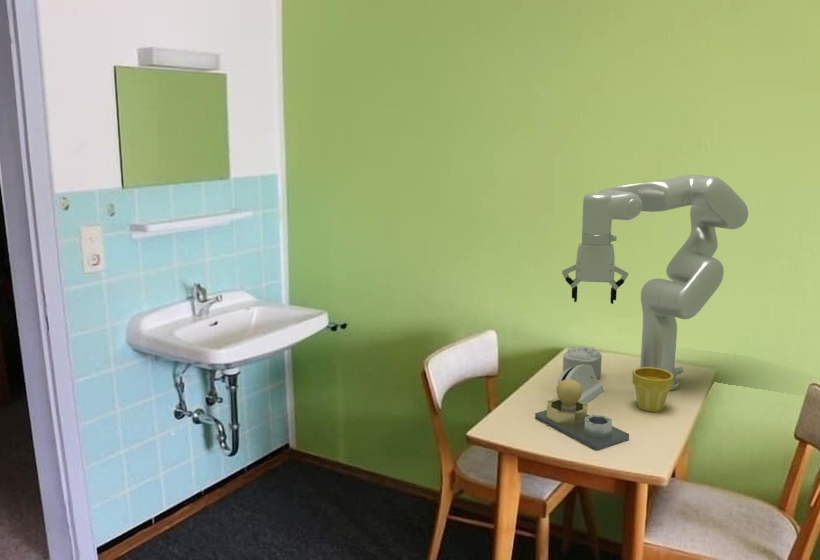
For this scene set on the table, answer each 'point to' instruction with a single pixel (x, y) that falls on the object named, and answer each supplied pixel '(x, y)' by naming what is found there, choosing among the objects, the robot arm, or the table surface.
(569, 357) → the lumpy-topped squat cylinder
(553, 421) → the fitting plate
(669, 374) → the plant pot
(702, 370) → the table surface
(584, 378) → the white rounded block
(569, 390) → the light bulb
